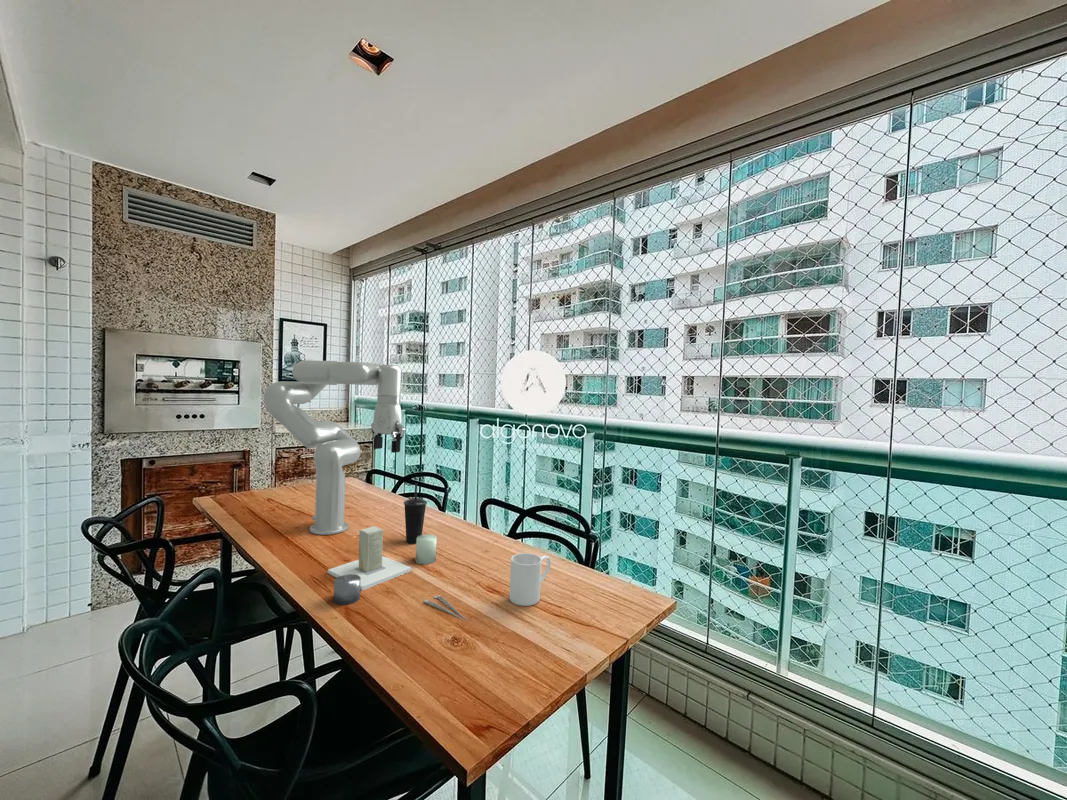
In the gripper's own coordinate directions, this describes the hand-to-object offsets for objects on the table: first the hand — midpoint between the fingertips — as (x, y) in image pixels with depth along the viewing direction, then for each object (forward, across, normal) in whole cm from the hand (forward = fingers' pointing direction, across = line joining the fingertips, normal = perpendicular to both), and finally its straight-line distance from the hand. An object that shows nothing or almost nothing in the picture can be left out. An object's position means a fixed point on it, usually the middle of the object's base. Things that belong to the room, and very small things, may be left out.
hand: (386, 450), depth 154 cm
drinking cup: (+30, +11, +4) cm, 33 cm away
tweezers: (+31, +54, -20) cm, 66 cm away
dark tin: (+30, +30, -33) cm, 54 cm away
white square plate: (+30, +21, -20) cm, 42 cm away
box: (+29, +21, -20) cm, 41 cm away
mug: (+30, +64, -1) cm, 71 cm away
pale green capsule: (+30, +26, -4) cm, 40 cm away
